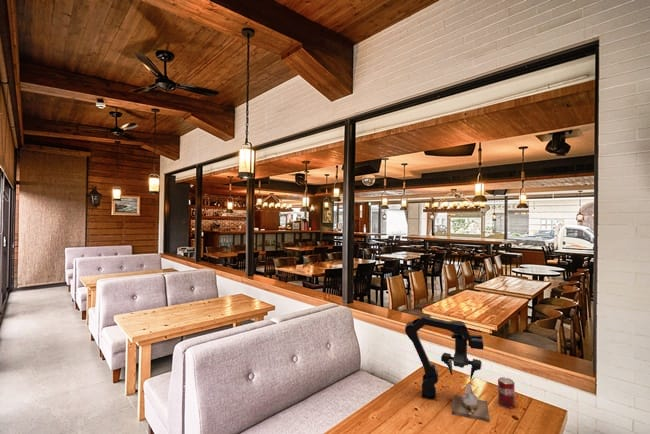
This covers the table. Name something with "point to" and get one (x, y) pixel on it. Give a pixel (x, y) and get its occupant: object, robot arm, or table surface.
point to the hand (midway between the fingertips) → (461, 377)
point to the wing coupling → (469, 399)
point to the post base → (478, 413)
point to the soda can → (506, 392)
